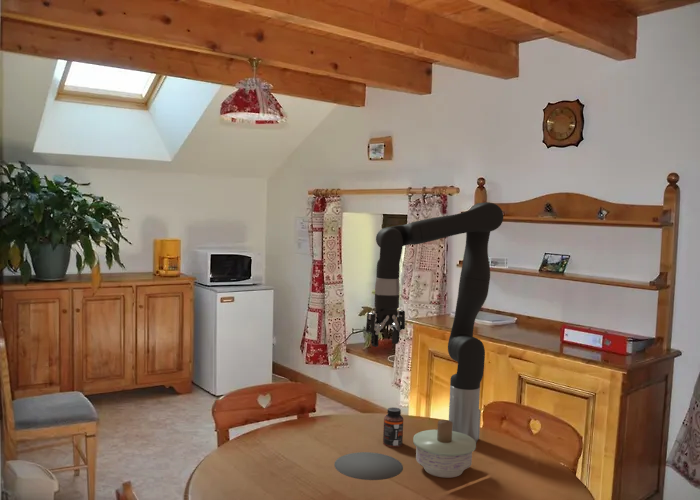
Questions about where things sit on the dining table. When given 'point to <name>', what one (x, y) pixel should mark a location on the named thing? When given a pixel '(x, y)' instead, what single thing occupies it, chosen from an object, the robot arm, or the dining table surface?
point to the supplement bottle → (393, 428)
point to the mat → (368, 466)
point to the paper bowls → (443, 463)
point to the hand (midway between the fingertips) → (385, 344)
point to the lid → (444, 441)
